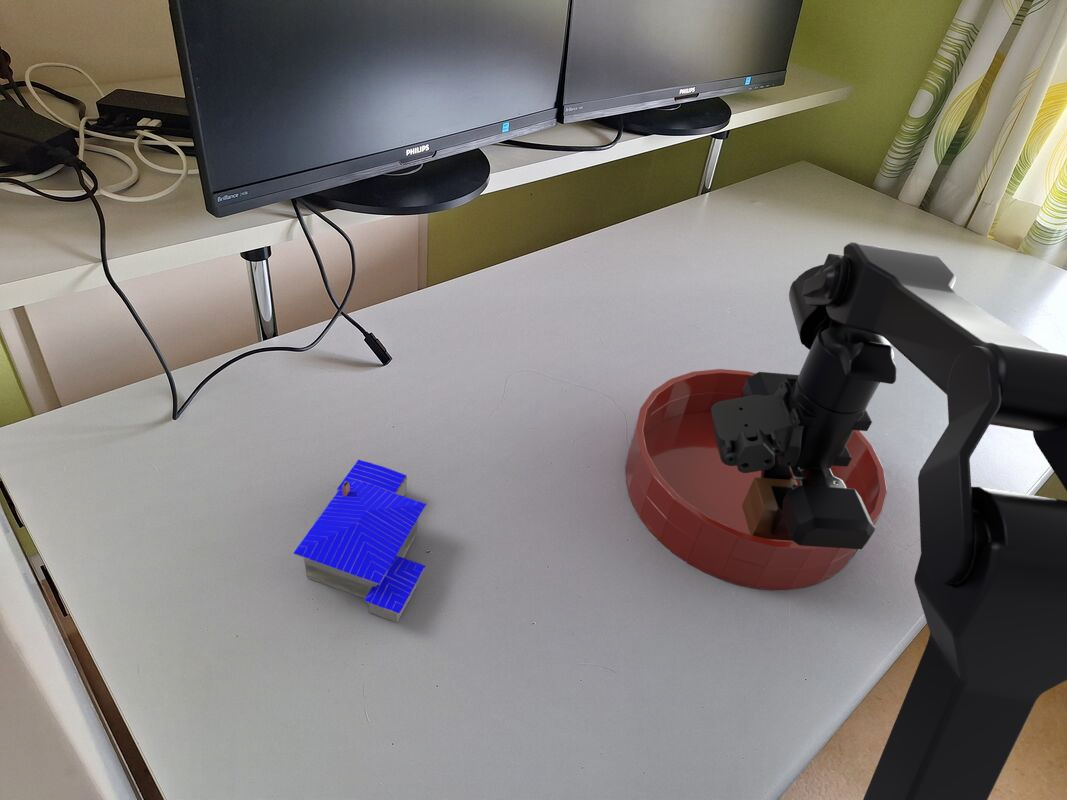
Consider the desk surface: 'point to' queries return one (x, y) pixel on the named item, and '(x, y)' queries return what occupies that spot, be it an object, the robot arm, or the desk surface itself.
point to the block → (763, 507)
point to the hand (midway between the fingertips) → (770, 515)
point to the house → (367, 540)
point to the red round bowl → (725, 489)
